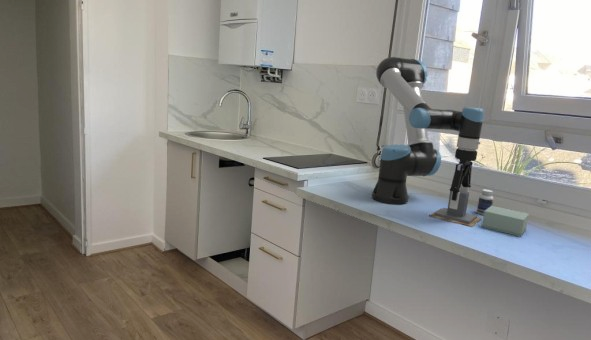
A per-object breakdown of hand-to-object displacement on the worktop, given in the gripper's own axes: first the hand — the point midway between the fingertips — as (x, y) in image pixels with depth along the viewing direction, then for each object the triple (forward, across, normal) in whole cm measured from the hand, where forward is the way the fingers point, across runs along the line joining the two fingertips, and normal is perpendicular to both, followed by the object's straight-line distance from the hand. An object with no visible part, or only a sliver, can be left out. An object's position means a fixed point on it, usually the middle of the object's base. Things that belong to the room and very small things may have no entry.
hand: (457, 205), depth 168 cm
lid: (+4, 0, 0) cm, 4 cm away
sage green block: (+5, +2, -17) cm, 18 cm away
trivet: (+5, 0, 0) cm, 5 cm away
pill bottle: (+5, +16, -6) cm, 18 cm away
